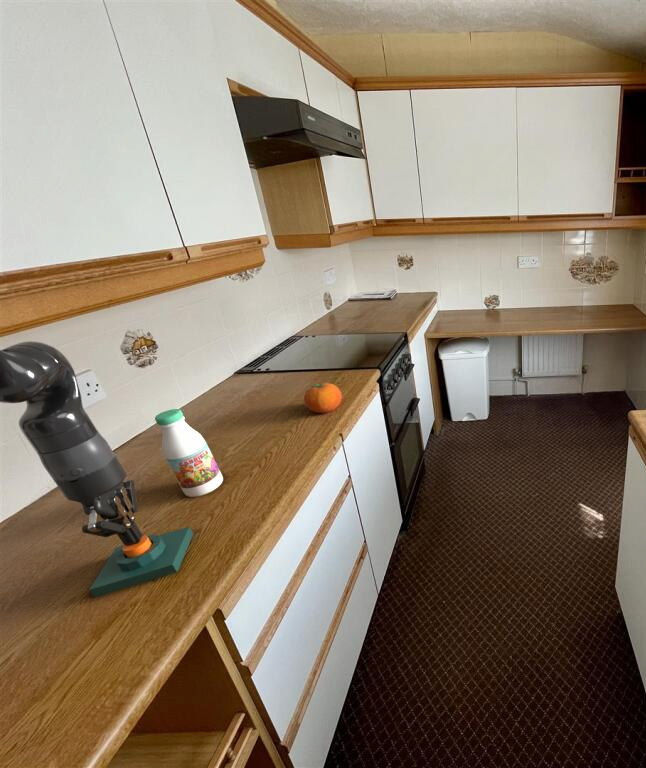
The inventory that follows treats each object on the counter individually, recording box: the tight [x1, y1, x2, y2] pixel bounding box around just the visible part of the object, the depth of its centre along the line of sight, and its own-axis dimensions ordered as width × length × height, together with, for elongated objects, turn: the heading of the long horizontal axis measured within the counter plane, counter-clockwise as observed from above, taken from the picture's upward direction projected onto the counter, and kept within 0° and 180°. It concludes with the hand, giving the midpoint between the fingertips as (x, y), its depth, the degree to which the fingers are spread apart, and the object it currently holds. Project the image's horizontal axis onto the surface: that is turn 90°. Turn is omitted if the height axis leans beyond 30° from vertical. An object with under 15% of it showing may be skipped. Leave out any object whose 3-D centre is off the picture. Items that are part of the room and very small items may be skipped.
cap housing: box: [88, 526, 194, 598], centre depth 75 cm, size 12×10×4 cm
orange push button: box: [122, 534, 152, 558], centre depth 74 cm, size 4×4×2 cm
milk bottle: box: [154, 408, 224, 498], centre depth 91 cm, size 8×8×20 cm
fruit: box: [303, 382, 343, 414], centre depth 125 cm, size 11×10×8 cm
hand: (134, 541), depth 73 cm, fingers closed
